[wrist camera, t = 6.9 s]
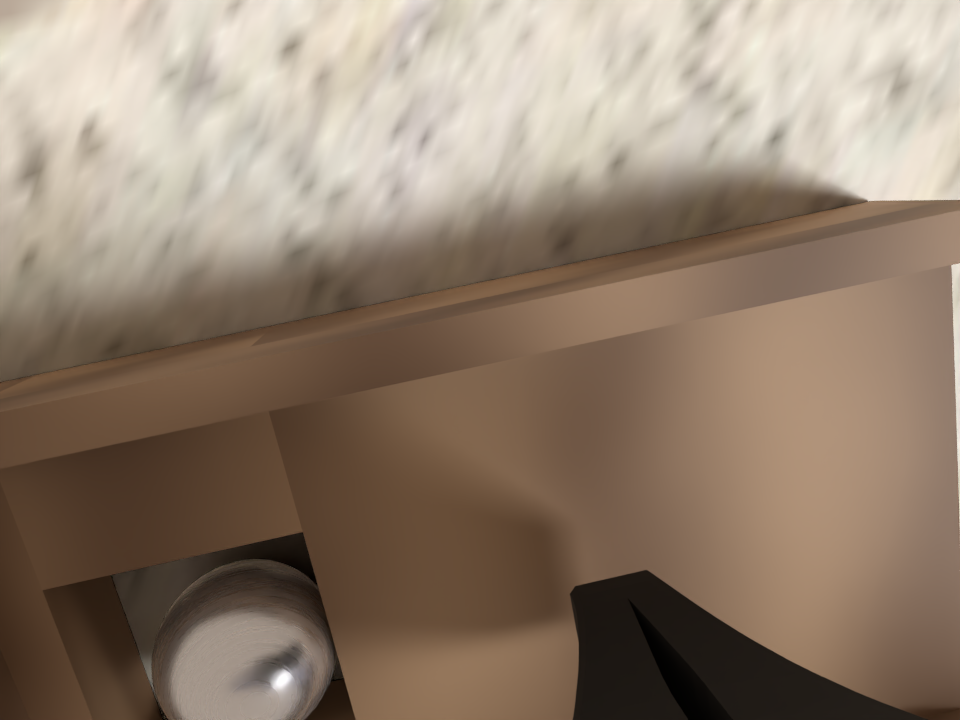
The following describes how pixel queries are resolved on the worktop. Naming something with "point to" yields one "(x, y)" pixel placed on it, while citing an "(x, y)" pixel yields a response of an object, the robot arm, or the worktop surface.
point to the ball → (244, 646)
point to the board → (525, 473)
